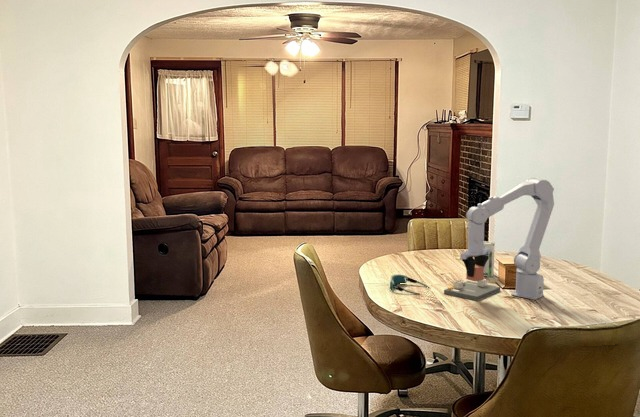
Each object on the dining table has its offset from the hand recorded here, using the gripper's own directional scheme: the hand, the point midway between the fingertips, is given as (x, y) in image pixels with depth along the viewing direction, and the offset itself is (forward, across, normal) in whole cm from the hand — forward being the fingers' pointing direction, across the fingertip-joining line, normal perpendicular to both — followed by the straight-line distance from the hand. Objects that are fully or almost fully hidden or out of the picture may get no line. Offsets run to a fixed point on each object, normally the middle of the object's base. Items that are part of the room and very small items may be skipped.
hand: (474, 275), depth 226 cm
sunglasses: (+9, -11, +24) cm, 27 cm away
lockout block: (+2, 0, 0) cm, 2 cm away
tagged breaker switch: (+7, +1, +9) cm, 11 cm away
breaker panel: (+8, +5, +5) cm, 11 cm away
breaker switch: (+7, +11, +5) cm, 14 cm away
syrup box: (+9, +31, +19) cm, 37 cm away
